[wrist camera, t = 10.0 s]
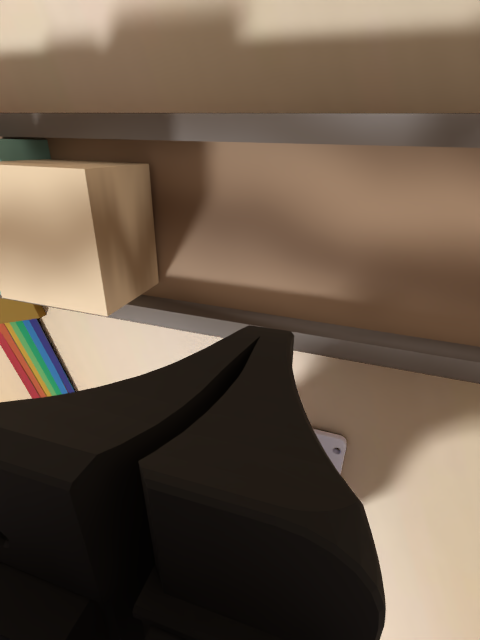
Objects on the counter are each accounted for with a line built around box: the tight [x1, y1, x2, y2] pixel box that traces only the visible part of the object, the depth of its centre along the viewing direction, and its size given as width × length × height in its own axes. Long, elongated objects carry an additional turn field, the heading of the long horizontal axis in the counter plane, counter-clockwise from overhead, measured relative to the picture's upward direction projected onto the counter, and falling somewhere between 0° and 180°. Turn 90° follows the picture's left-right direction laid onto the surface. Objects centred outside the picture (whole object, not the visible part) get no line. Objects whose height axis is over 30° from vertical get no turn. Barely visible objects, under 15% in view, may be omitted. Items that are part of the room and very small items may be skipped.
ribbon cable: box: [0, 298, 75, 399], centre depth 36 cm, size 29×1×30 cm
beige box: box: [0, 159, 159, 316], centre depth 17 cm, size 6×6×4 cm
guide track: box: [0, 113, 480, 384], centre depth 17 cm, size 10×30×4 cm, turn 89°
